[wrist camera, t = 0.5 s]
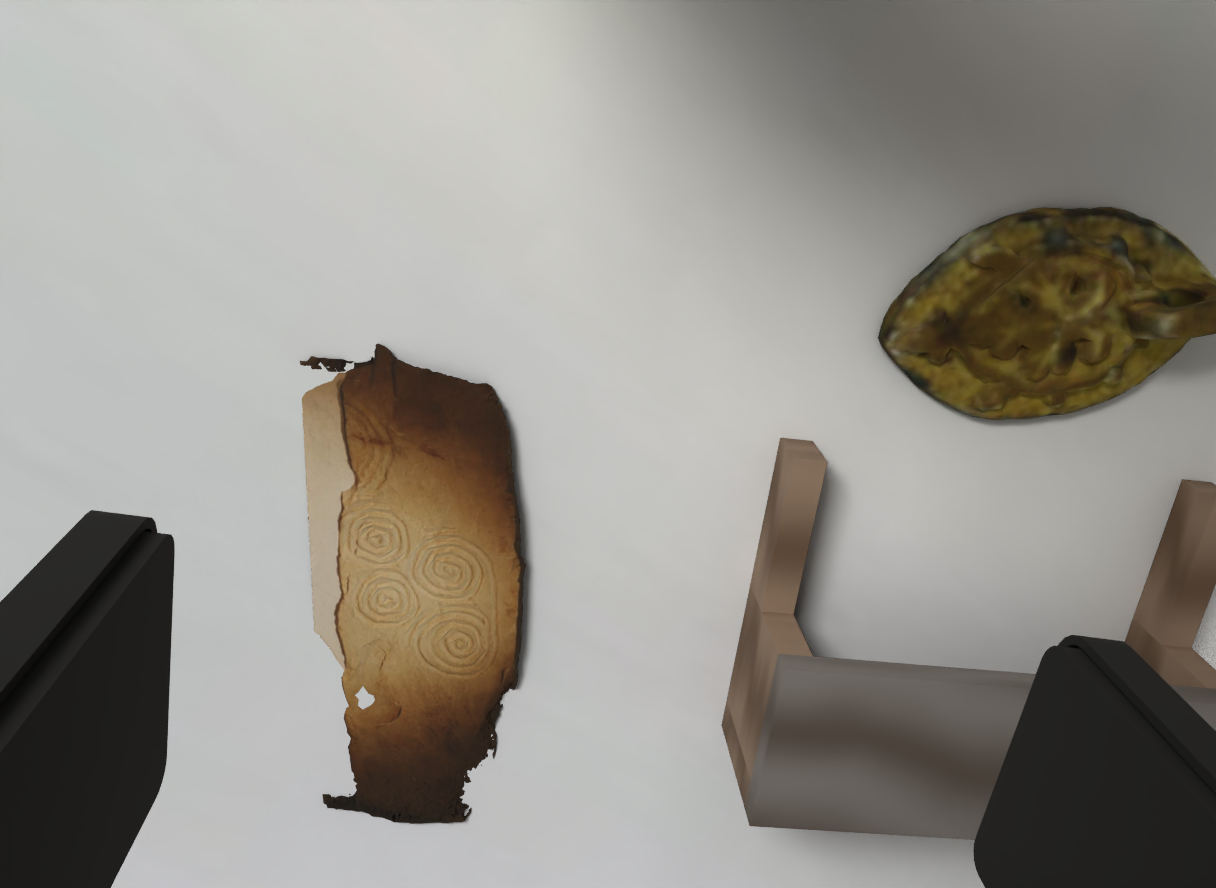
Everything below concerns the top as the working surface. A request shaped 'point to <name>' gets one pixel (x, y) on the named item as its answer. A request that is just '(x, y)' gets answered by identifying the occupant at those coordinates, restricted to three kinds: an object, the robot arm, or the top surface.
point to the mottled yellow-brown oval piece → (1049, 312)
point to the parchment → (413, 575)
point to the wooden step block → (912, 686)
